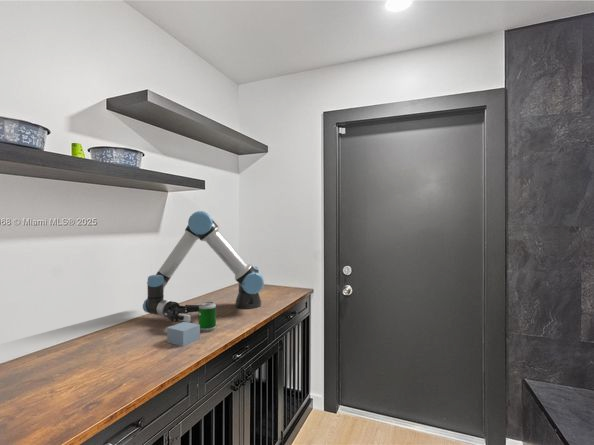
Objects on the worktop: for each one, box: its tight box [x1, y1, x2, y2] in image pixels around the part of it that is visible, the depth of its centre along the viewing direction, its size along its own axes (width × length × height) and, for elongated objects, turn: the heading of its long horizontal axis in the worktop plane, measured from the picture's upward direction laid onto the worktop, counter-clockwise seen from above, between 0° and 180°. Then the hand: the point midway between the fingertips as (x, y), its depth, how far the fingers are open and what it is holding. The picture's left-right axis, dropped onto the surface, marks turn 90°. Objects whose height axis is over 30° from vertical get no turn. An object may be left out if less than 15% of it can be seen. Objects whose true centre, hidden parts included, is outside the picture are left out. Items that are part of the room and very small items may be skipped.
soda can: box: [198, 301, 217, 333], centre depth 145 cm, size 8×8×12 cm
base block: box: [166, 321, 201, 347], centre depth 131 cm, size 9×9×6 cm
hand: (201, 314), depth 146 cm, fingers open, 13 cm apart
